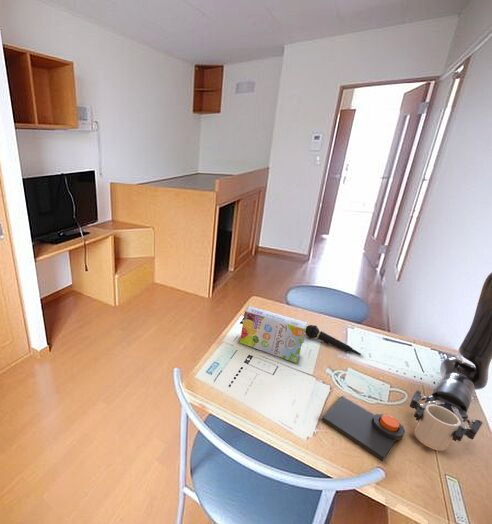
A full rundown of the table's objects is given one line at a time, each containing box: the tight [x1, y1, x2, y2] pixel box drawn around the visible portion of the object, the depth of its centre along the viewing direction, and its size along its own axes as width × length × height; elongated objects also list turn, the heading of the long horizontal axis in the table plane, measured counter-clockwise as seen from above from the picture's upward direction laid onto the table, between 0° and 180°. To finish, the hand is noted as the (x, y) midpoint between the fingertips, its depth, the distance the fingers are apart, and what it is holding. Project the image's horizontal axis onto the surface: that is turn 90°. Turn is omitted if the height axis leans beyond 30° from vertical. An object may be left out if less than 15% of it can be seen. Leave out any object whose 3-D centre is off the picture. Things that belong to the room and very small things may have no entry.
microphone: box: [305, 324, 362, 356], centre depth 120 cm, size 6×6×20 cm
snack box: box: [239, 305, 308, 364], centre depth 115 cm, size 21×6×15 cm, turn 56°
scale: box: [321, 395, 406, 462], centre depth 86 cm, size 16×14×3 cm
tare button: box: [380, 414, 401, 432], centre depth 84 cm, size 4×4×2 cm
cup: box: [414, 404, 461, 452], centre depth 80 cm, size 7×7×9 cm
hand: (436, 427), depth 78 cm, fingers closed on cup, 6 cm apart
